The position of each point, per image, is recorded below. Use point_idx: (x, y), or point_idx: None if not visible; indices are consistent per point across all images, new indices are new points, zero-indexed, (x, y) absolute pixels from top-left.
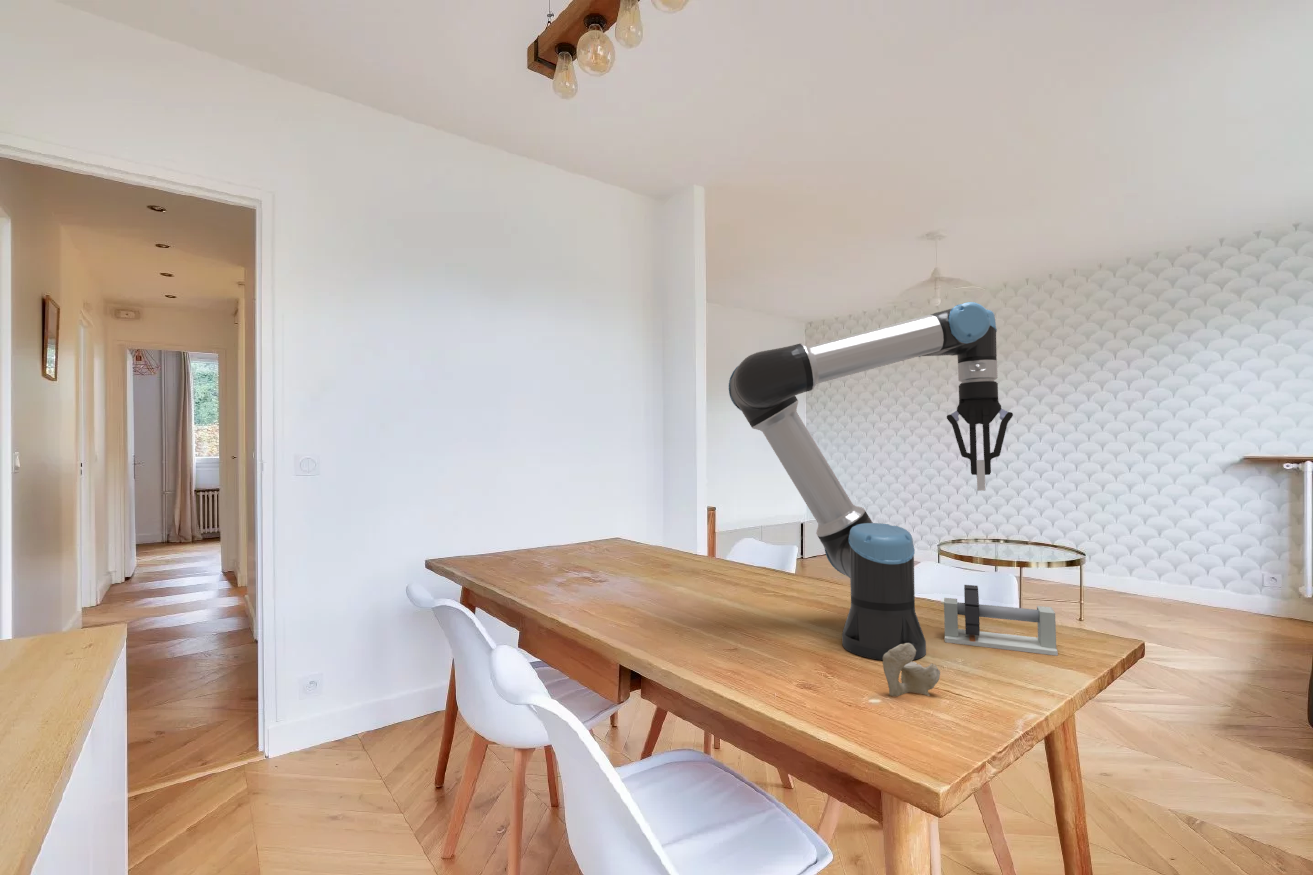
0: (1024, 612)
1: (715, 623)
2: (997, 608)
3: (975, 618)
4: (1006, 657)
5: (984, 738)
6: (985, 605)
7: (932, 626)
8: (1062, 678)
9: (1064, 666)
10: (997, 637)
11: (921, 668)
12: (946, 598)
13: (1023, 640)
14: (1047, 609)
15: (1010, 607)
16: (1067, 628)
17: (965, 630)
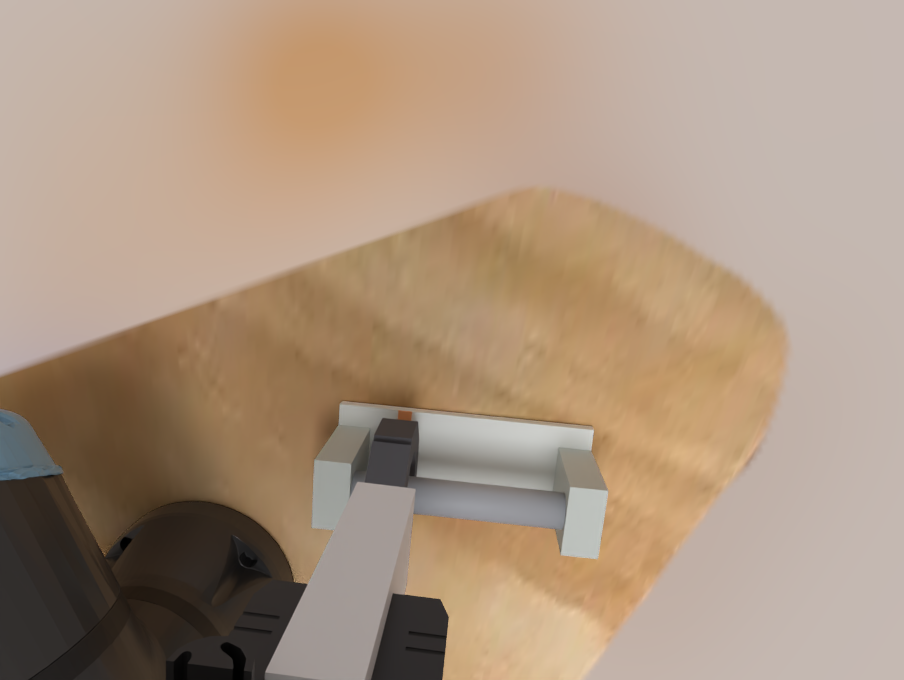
0: (525, 525)
1: None
2: (456, 517)
3: None
4: (462, 568)
5: None
6: (426, 508)
7: (310, 362)
8: (545, 663)
9: (571, 592)
10: (462, 457)
11: None
12: (320, 467)
13: (520, 465)
14: (588, 521)
15: (492, 513)
16: (681, 257)
17: (389, 417)
